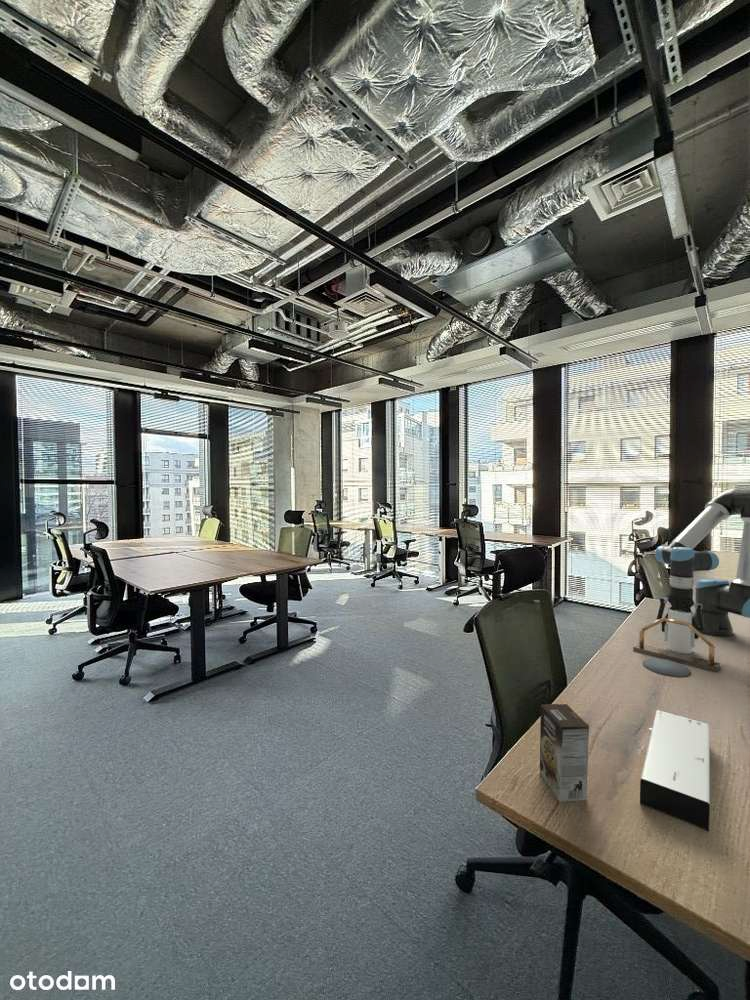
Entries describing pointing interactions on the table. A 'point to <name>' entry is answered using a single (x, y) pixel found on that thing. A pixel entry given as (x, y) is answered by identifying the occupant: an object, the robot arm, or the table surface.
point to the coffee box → (564, 752)
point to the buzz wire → (678, 656)
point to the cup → (679, 632)
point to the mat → (666, 667)
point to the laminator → (678, 769)
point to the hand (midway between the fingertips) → (679, 643)
